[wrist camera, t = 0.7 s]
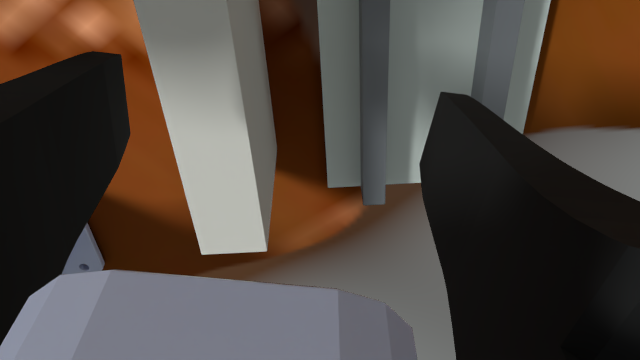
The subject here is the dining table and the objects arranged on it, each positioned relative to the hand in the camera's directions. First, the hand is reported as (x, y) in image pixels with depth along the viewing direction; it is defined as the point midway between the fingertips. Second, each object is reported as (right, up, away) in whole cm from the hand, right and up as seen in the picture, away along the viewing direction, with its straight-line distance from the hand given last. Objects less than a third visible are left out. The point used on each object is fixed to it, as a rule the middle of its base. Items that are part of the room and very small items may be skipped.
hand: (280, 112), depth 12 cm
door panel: (-3, +4, +10) cm, 11 cm away
